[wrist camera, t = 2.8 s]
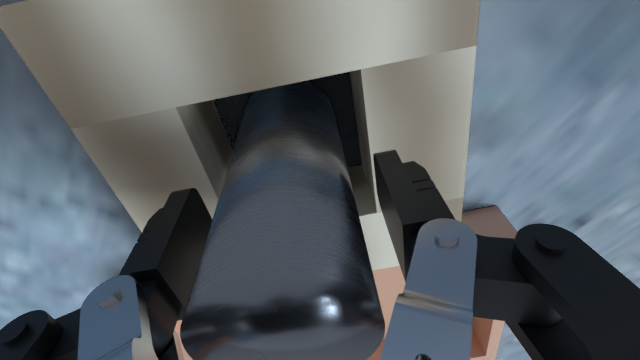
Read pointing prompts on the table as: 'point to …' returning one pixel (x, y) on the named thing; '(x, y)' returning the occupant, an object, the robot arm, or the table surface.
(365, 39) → the block
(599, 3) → the table surface
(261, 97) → the steel pin
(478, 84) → the table surface
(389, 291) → the tray
